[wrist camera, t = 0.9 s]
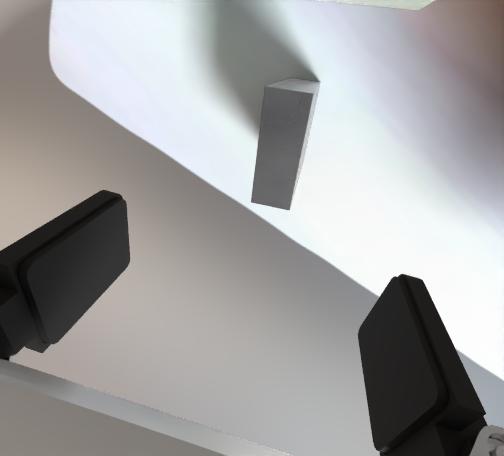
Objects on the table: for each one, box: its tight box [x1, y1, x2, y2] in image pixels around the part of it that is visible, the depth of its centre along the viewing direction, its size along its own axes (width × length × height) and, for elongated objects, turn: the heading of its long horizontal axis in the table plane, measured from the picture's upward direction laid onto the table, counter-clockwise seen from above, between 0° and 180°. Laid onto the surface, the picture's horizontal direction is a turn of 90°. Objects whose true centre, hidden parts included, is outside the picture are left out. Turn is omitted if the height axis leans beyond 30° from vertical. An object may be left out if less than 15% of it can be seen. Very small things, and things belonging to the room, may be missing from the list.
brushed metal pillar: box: [251, 78, 320, 210], centre depth 24 cm, size 3×8×12 cm, turn 174°
